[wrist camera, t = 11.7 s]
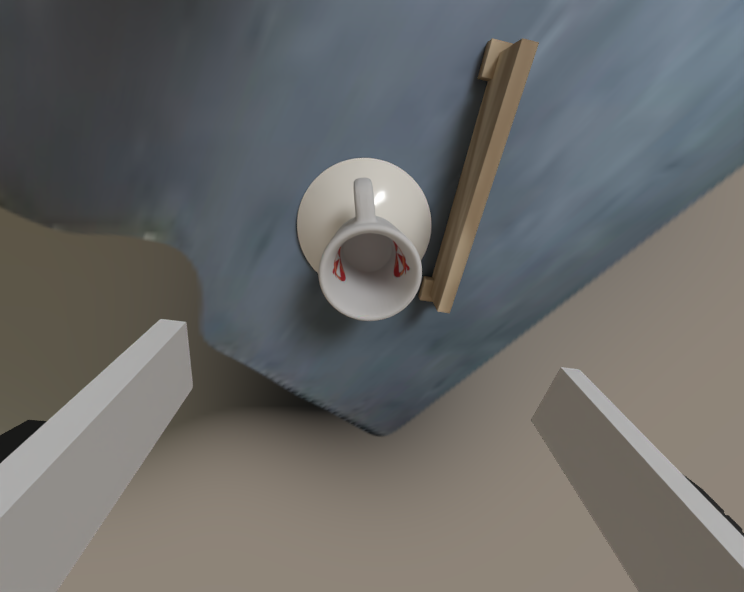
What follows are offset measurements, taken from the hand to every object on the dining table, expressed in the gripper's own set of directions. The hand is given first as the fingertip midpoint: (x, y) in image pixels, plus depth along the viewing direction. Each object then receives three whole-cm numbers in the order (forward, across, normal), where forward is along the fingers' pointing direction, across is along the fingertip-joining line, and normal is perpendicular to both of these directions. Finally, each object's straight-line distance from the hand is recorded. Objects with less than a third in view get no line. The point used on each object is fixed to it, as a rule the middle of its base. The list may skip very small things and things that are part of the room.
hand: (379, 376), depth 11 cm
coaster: (+21, 0, 0) cm, 21 cm away
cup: (+21, 0, 0) cm, 21 cm away
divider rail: (+21, +8, +5) cm, 23 cm away
